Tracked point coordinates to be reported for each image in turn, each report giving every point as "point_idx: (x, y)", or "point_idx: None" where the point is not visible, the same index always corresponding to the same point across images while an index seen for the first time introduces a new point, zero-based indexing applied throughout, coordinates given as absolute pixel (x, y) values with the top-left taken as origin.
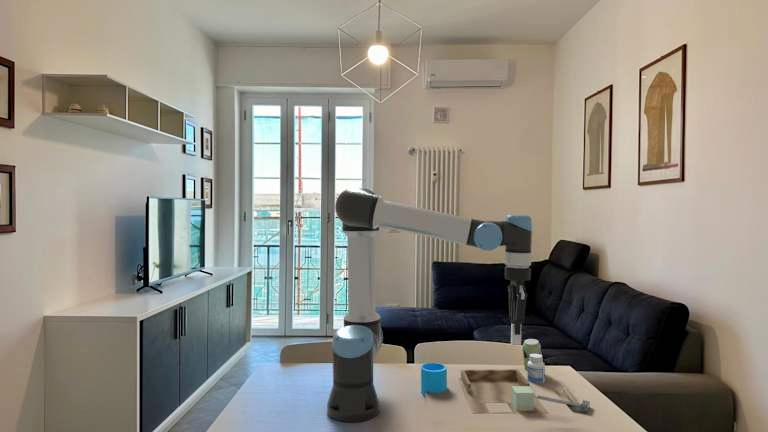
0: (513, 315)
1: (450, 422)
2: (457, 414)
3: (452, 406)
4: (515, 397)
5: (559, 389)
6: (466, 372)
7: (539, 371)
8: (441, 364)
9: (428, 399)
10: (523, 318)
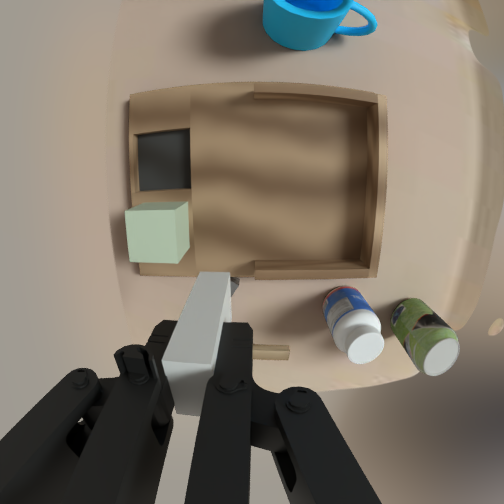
0: (128, 425)
1: (123, 53)
2: (159, 64)
3: (204, 53)
4: (136, 207)
5: (306, 344)
6: (375, 111)
7: (331, 329)
8: (339, 11)
9: (251, 7)
10: (72, 435)
